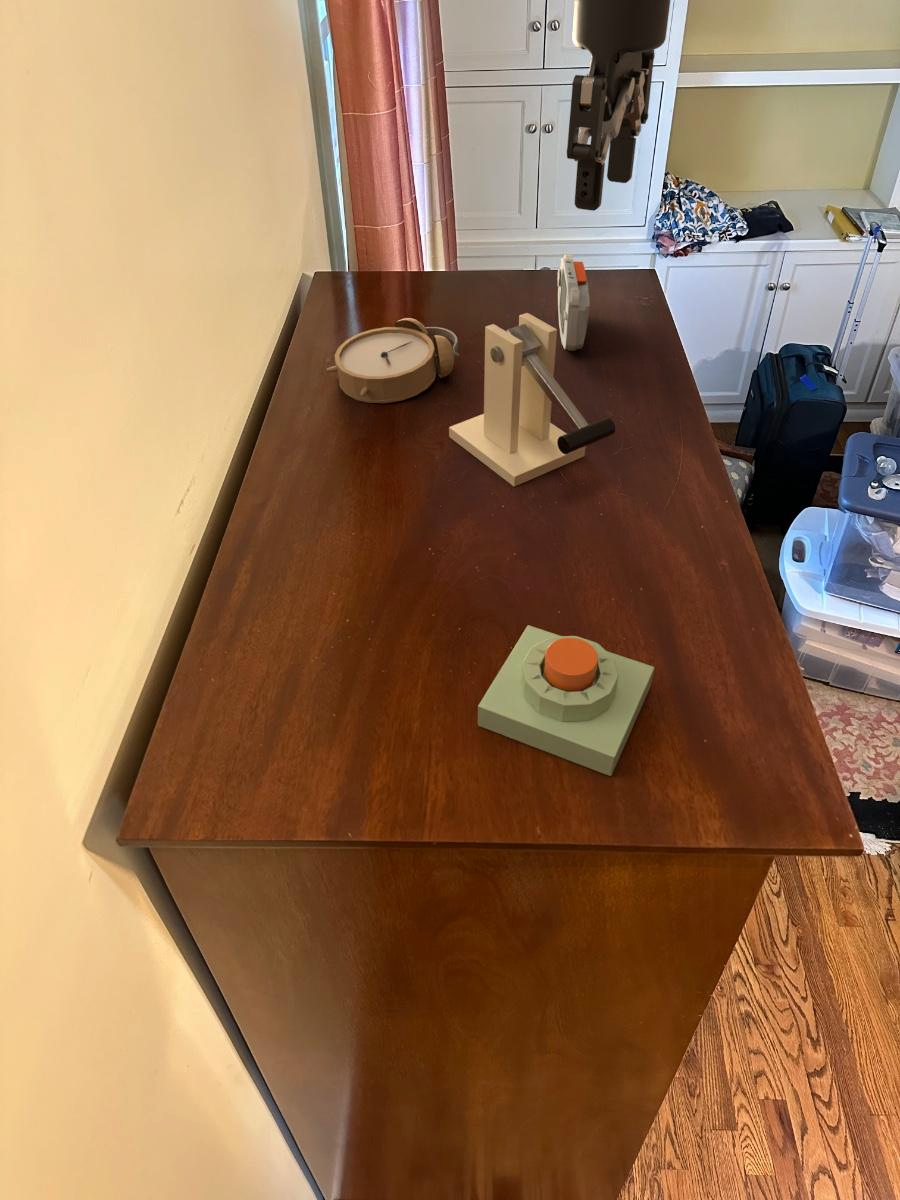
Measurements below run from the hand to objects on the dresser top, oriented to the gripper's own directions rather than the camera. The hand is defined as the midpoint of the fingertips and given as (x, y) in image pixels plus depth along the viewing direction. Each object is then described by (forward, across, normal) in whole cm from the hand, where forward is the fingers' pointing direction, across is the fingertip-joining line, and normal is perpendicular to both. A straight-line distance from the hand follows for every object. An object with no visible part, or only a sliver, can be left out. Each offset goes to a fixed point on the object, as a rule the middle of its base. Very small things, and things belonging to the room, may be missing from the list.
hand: (603, 194), depth 78 cm
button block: (+23, -39, -13) cm, 47 cm away
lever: (+15, -11, 0) cm, 19 cm away
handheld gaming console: (+22, +16, +8) cm, 29 cm away
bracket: (+22, -9, +4) cm, 24 cm away
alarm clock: (+22, -2, +22) cm, 31 cm away
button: (+19, -39, -13) cm, 46 cm away
